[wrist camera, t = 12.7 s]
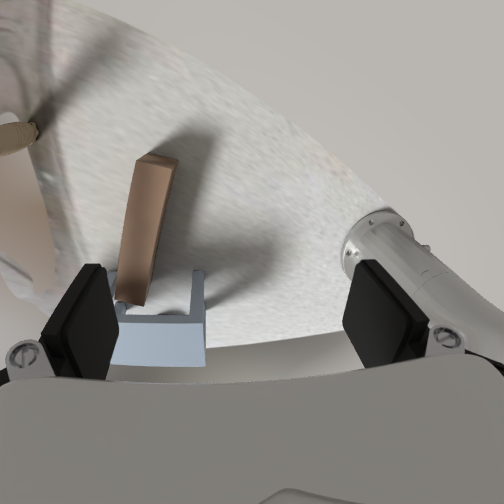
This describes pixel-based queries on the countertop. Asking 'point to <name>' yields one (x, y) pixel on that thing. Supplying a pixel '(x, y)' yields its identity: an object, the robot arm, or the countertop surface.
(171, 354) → the low shelf
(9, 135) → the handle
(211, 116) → the countertop surface
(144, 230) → the brown block
